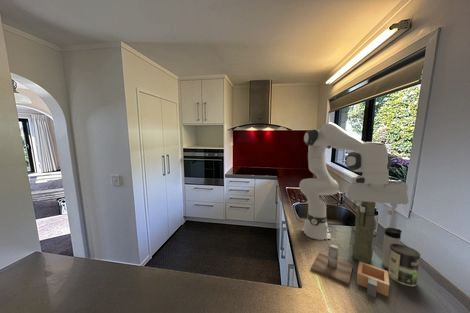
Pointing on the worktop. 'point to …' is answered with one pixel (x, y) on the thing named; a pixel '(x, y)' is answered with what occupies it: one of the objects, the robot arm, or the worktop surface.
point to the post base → (332, 273)
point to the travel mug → (389, 243)
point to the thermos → (364, 232)
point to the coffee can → (403, 264)
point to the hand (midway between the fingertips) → (376, 213)
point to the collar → (373, 279)
